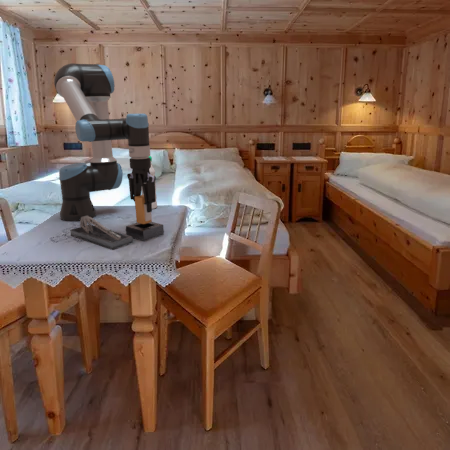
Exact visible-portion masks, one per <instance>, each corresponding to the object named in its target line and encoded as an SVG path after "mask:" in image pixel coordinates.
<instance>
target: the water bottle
mask: <svg viewBox="0 0 450 450" xmlns="http://www.w3.org/2000/svg"><path fill="white" fill-rule="evenodd" d="M149 158H150V159H151V167H150V168H149V171H150V175H152V176H155V177H156V170H155V168H154V166H153V164H152V162H153V161H152V160H153V157H152V156H151V155H150V156H149ZM156 180H157V179H156ZM156 180H155V197H156V199H157V186H156V184H157V182H156ZM141 195H144V194H143V189H142V188H141ZM157 207H158V201H157V200H156V201H155V202H153V203H152V210H154V209H156V208H157Z"/></svg>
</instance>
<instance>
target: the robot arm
mask: <svg viewBox="0 0 450 450" xmlns="http://www.w3.org/2000/svg"><path fill="white" fill-rule="evenodd" d="M53 84H54V89H55V90H56V93H57V94H58V95H59V96H60V97H62V98H63V99H64V101H65V103H66V105H67V106H68V109H69V110H70V112H71V114H72V115H73V117H74V119H75V120H76V122H75V124H74V125H75V133H76V134H75V135H76V137H77V140H79V141H80V142H89V143H90V142H91V150H92V151H91V152H92V158H91V159H90V161H89V164H90V165H87V163H85V162H79V163H77V162H76V163H71V164H67V165H65V166H62V167H61V168H60V169H59V171H58V173H59V175H58V179H59V183H60V191H61V198H62V201H61V202H62V203H61V207H60V212H59V217H60V219H61V220H62V221H67V222H74V221H75V222H77V221H78V222H80V221H81V217H83V216H89V217H91V218H93V219H94V218H95V217H96V216H97V213H96V208H95V206H94V204H93V202H92V200H91V193H92V192H95V193H96V192H101V191H111V190H116V189H118V188H120V186H121V185H122V183H123V177H124V176H123V169H122V165H121V163H119V162H117V159H116V158H115V157H114V156H113V155H114V154H113V144H112V141H119V140H123V141H124V140H127V143H128V144H127V146H128V155H129V156H128V157H130V158H129V168H130V169H131V172H130V173H127V174H126V177H127V179H128V187H129V189H128V190H129V195H130V200H131V201H133V202H134V203H135V197H136V196H140V195H142V191H141V188H142V189H143V194H144V199H145V203H144V213H145V221H149V220H153V219H152V212H153V209H152V203H153V202H155V201H157V198H156V197H157V196H156V197H155V180H157V176H156V175H155V176H152V175H150V171H149V168H150V167H151V164H152V162H151V159H150V158H149V156H151V146H150V130H149V127H150V126H149V125H150V124H149V118H148V115H147V114H146V113H127V114H126V116H125V118H110V114H109V105H108V104H109V103H108V101H109V100H110V98H112V97H111V94H113V93H114V92H115V79H114V76H113V73H112V71H111V69H110V67H108V66H107V65H104V64H98V63H97V64H96V63H95V64H94V63H92V64H90V63H67V64H65V65H62V66H61V67H60V68H59V69H57V71H56V73H55V75H54V80H53ZM134 207H135V206H134ZM134 209H135V210H136V207H135V208H134Z"/></svg>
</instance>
